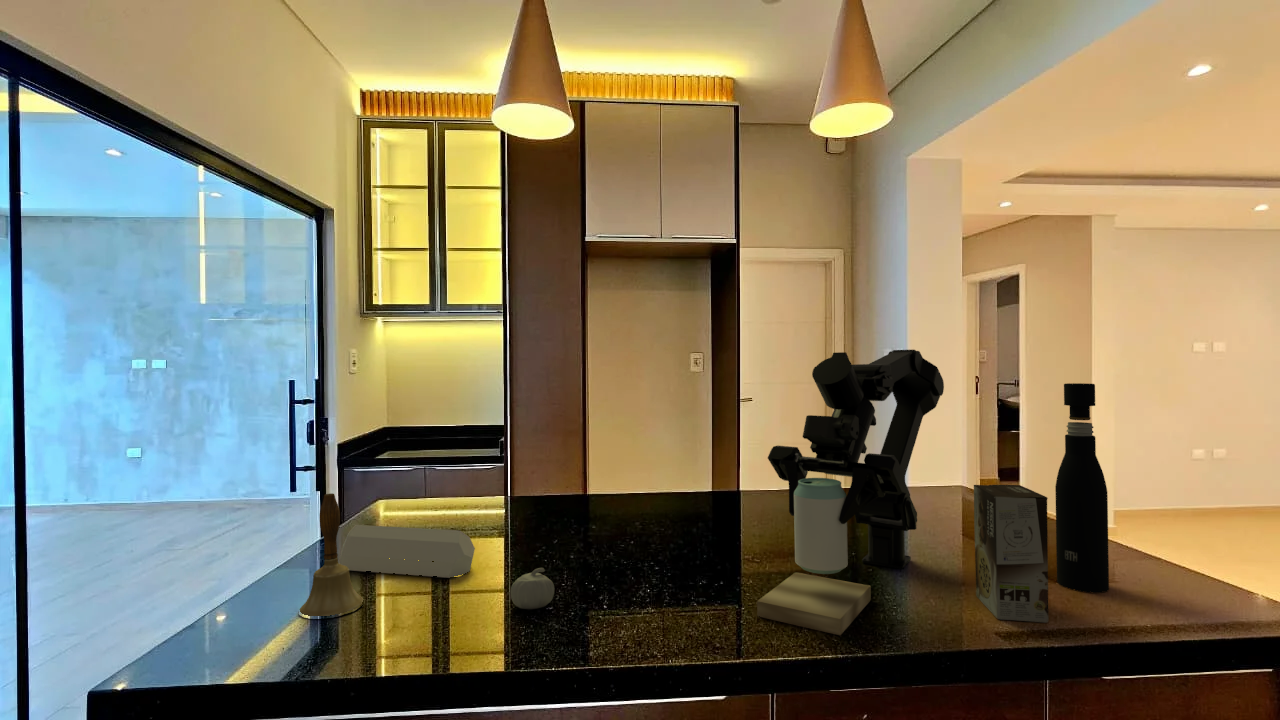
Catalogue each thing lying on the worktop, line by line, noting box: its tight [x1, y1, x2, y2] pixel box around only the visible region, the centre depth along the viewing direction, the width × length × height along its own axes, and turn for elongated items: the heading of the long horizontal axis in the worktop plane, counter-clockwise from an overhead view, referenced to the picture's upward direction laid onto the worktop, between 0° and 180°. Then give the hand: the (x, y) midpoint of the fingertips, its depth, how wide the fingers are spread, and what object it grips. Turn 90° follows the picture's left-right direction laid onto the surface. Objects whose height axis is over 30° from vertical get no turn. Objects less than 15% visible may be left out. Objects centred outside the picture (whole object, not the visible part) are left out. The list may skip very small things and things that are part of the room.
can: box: [793, 477, 849, 575], centre depth 88 cm, size 7×7×12 cm
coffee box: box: [973, 484, 1049, 624], centre depth 86 cm, size 9×6×16 cm
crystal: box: [338, 524, 476, 579], centre depth 105 cm, size 7×7×24 cm
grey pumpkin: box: [510, 567, 555, 610], centre depth 89 cm, size 6×5×5 cm
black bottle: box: [1054, 382, 1110, 594], centre depth 95 cm, size 6×6×30 cm
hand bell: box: [299, 493, 364, 616], centre depth 89 cm, size 8×8×16 cm
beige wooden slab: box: [756, 572, 872, 636], centre depth 87 cm, size 14×11×2 cm
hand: (815, 518), depth 87 cm, fingers closed on can, 7 cm apart
